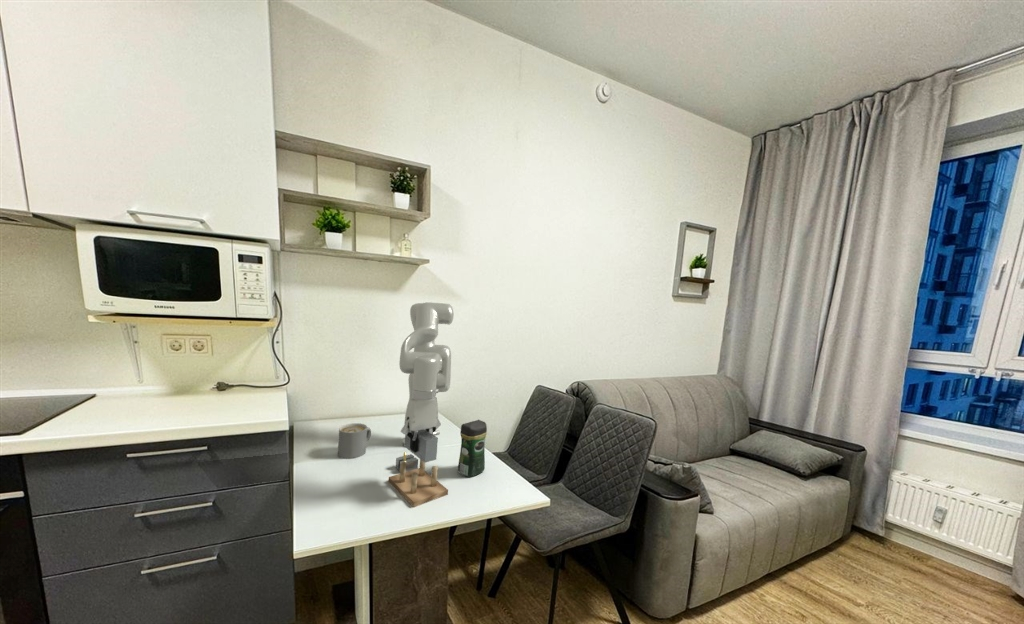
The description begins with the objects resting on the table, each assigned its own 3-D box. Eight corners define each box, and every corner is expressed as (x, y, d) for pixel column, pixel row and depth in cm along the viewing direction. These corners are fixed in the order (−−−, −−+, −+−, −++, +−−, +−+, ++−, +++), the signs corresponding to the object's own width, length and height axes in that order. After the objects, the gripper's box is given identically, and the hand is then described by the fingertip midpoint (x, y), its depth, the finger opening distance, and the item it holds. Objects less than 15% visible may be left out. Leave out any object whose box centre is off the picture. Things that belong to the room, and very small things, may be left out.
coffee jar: (473, 463, 135) (476, 416, 135) (487, 471, 130) (491, 422, 129) (453, 471, 128) (457, 421, 128) (467, 480, 123) (471, 428, 122)
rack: (420, 471, 126) (422, 451, 126) (447, 494, 113) (449, 471, 113) (388, 481, 118) (389, 459, 118) (413, 507, 105) (415, 482, 105)
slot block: (410, 463, 132) (411, 447, 132) (417, 468, 128) (418, 452, 128) (395, 467, 128) (396, 451, 128) (402, 473, 124) (403, 456, 124)
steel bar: (415, 444, 122) (416, 424, 121) (436, 459, 111) (437, 437, 111) (404, 446, 119) (405, 426, 119) (424, 462, 109) (426, 440, 108)
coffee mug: (345, 461, 130) (347, 434, 129) (332, 452, 135) (334, 427, 135) (378, 450, 140) (380, 426, 140) (365, 443, 146) (366, 419, 146)
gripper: (440, 388, 123) (436, 440, 123) (394, 394, 112) (390, 451, 112) (451, 393, 117) (448, 447, 118) (405, 400, 106) (401, 460, 107)
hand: (420, 448), depth 115 cm, fingers closed on steel bar, 4 cm apart
